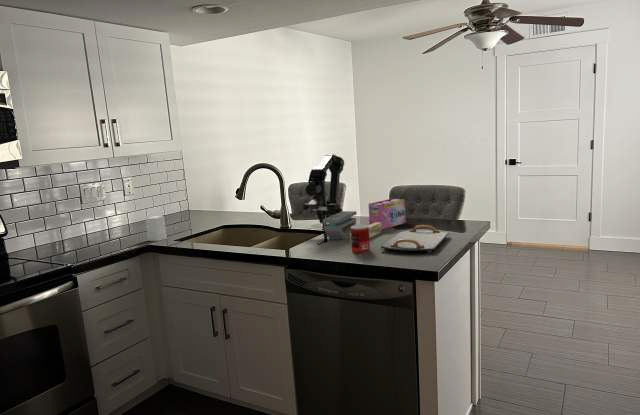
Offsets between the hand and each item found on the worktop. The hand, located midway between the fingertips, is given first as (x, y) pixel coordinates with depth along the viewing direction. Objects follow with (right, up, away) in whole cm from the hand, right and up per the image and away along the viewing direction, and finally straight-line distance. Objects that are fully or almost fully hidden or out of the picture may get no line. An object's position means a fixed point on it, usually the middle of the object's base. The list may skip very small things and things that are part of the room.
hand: (321, 223), depth 245 cm
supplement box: (-91, -10, +21) cm, 94 cm away
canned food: (+17, -11, -38) cm, 43 cm away
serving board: (+42, -9, -32) cm, 54 cm away
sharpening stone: (+10, -7, -5) cm, 13 cm away
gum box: (+36, -2, +16) cm, 40 cm away
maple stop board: (+22, -7, -12) cm, 26 cm away
